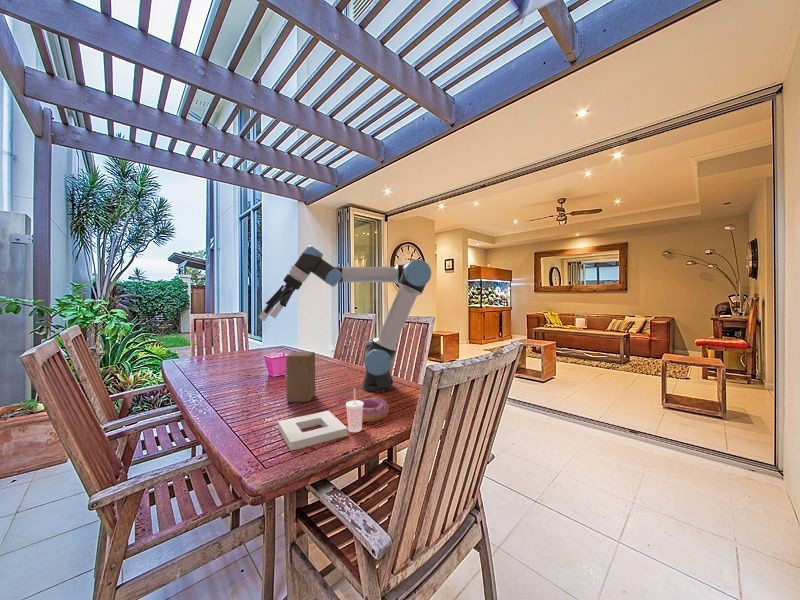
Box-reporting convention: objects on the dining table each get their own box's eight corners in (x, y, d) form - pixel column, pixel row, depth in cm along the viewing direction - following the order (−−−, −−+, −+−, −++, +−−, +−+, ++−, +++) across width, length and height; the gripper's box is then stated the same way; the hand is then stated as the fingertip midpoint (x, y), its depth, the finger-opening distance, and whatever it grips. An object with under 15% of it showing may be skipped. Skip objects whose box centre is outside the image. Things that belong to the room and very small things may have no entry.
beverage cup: (351, 424, 111) (351, 385, 111) (367, 427, 109) (366, 387, 108) (342, 431, 105) (341, 390, 105) (358, 434, 103) (357, 392, 103)
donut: (344, 415, 120) (344, 402, 120) (374, 406, 129) (374, 394, 129) (365, 427, 109) (365, 413, 109) (396, 416, 118) (396, 403, 118)
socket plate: (328, 417, 118) (328, 410, 118) (347, 435, 102) (347, 428, 102) (278, 428, 108) (277, 421, 108) (290, 450, 93) (290, 442, 93)
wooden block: (309, 402, 133) (308, 355, 132) (285, 402, 133) (285, 355, 132) (316, 395, 143) (315, 351, 142) (294, 395, 143) (293, 351, 142)
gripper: (296, 274, 149) (269, 311, 148) (279, 270, 124) (247, 314, 123) (309, 283, 149) (283, 320, 149) (295, 281, 124) (264, 325, 124)
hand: (267, 317), depth 136 cm, fingers open, 13 cm apart
